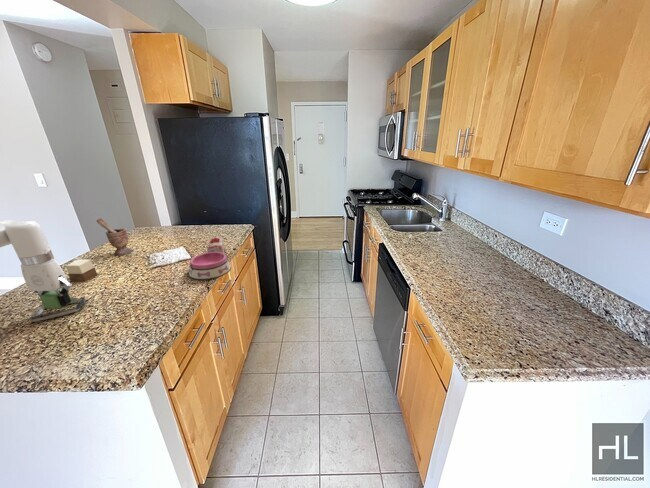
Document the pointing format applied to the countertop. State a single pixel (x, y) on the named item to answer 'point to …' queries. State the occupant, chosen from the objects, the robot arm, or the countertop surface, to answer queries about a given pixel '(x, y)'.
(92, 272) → the walnut block
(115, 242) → the mortar and pestle
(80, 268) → the cream block
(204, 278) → the dog bowl
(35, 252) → the robot arm
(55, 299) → the green block
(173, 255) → the white flat packet
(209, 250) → the food item
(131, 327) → the countertop surface
